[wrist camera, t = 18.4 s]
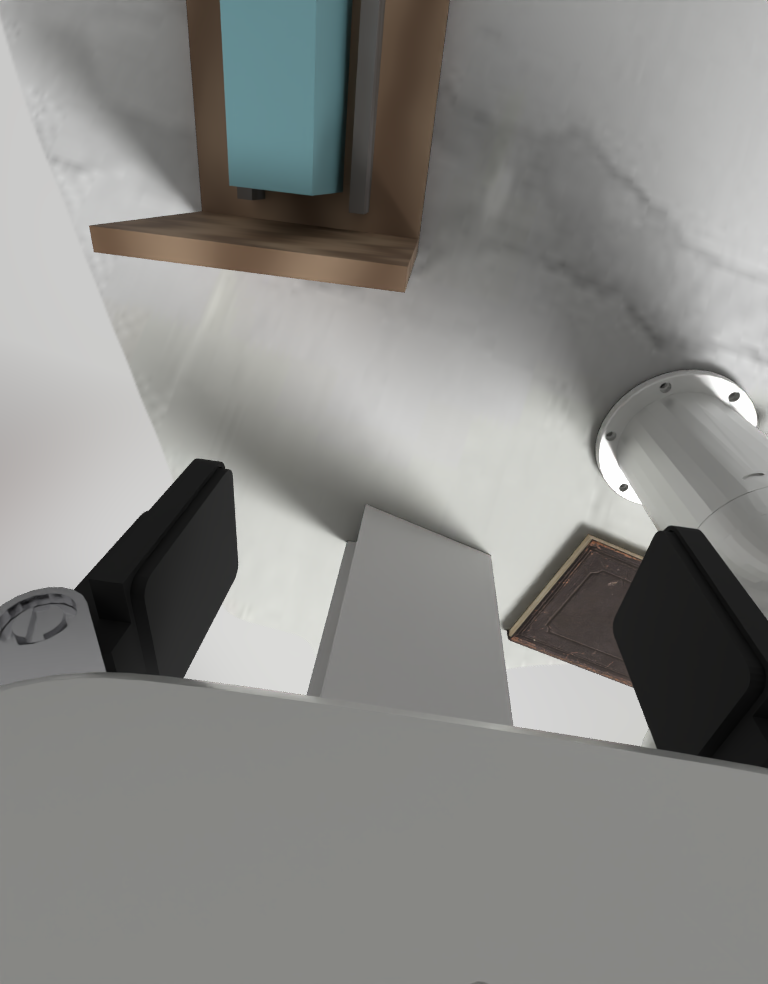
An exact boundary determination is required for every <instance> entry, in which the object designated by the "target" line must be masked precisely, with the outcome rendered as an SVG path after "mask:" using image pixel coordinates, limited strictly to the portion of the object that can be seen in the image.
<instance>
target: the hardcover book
mask: <svg viewBox="0 0 768 984" xmlns="http://www.w3.org/2000/svg"><path fill="white" fill-rule="evenodd" d="M643 558H644V557H642V556H639V555H637V554H635V553H632V552H630V551H628V550H625V549H623V548H620V547H618V546H616V545H613V544H611V543H609V542H606V541H604V540H601V539H599V538H597V537H594V536H592V535H590V534H588V535H587V536H586V538H585V539H584V540H583V541H582V543H581V544H580V545H579V546H578V547H577V549H576V550H575V551H574V552H573V554H572V555H571V556H570V557H569V558H568V560H567V561H566V562H565V563H564V565H563V566H562V567H561V568H560V569H559V571H558V572H557V573H556V574H555V576H554V577H553V578H552V579H551V580H550V582H549V583H548V584H547V585H546V587H545V588H544V589H543V590H542V591H541V593H540V594H539V595H538V596H537V597H536V599H535V600H534V601H533V602H532V604H531V605H530V606H529V607H528V608H527V610H526V611H525V612H524V613H523V615H522V616H521V617H520V618H519V619H518V621H517V622H516V623H515V624H514V625H513V627H512V628H511V629H510V630H507V636H508V639H509V640H510V641H513V642H515V643H518V644H520V645H523V646H526V647H528V648H531V649H533V650H536V651H539V652H541V653H544V654H547V655H549V656H552V657H554V658H557V659H560V660H562V661H565V662H568V663H570V664H573V665H576V666H578V667H581V668H583V669H586V670H588V671H591V672H594V673H597V674H599V675H602V676H604V677H607V678H609V679H612V680H615V681H617V682H620V683H622V684H625V685H628V686H630V687H633V685H632V682H631V679H630V677H629V674H628V671H627V669H626V666H625V663H624V661H623V658H622V656H621V653H620V650H619V648H618V645H617V642H616V640H615V637H614V634H613V621H614V618H615V615H616V613H617V611H618V609H619V607H620V605H621V603H622V601H623V599H624V597H625V595H626V593H627V591H628V589H629V587H630V585H631V582H632V580H633V578H634V576H635V574H636V572H637V570H638V568H639V566H640V564H641V562H642V560H643ZM633 688H634V687H633Z"/></svg>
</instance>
